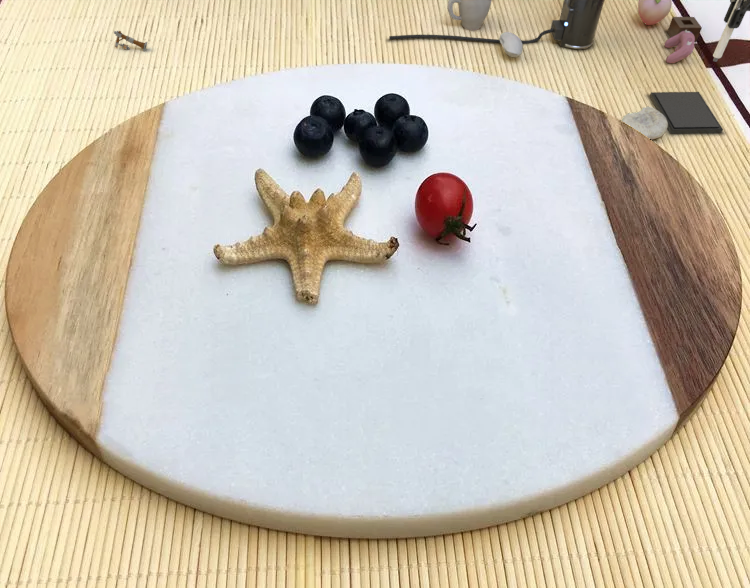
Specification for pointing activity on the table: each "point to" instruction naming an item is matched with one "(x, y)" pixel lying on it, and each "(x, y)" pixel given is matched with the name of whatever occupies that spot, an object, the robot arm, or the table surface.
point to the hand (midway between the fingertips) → (730, 24)
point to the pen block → (684, 26)
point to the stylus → (724, 39)
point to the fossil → (647, 122)
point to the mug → (470, 12)
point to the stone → (511, 44)
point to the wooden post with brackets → (129, 39)
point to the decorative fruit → (653, 10)
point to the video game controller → (680, 46)
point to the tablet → (685, 112)
